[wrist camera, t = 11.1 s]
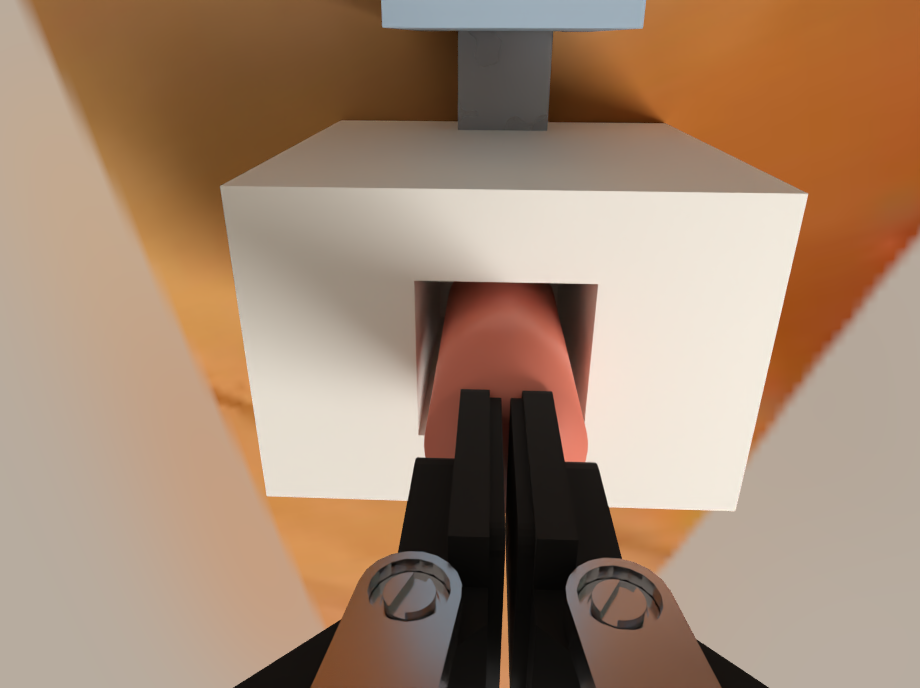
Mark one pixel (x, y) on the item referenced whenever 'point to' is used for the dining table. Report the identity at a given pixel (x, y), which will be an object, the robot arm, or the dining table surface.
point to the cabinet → (510, 260)
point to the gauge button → (502, 362)
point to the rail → (504, 80)
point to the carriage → (513, 15)
